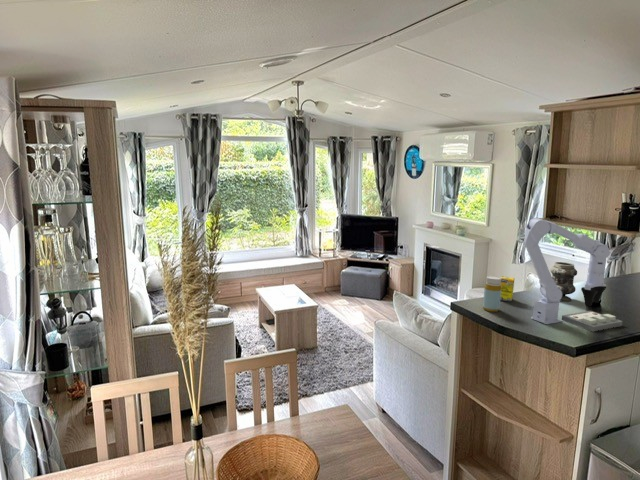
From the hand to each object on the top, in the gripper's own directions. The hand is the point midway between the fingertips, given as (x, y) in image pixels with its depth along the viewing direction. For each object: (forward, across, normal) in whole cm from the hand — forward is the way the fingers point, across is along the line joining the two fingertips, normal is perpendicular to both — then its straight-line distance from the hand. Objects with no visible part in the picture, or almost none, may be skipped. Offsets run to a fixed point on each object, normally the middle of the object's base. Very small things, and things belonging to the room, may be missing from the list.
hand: (591, 303), depth 183 cm
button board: (+9, +2, 0) cm, 9 cm away
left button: (+8, -5, -1) cm, 9 cm away
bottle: (+9, -18, +34) cm, 40 cm away
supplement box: (+9, +2, +38) cm, 39 cm away
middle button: (+8, +1, -3) cm, 8 cm away
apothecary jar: (+9, +27, +23) cm, 37 cm away
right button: (+8, +7, -5) cm, 11 cm away
